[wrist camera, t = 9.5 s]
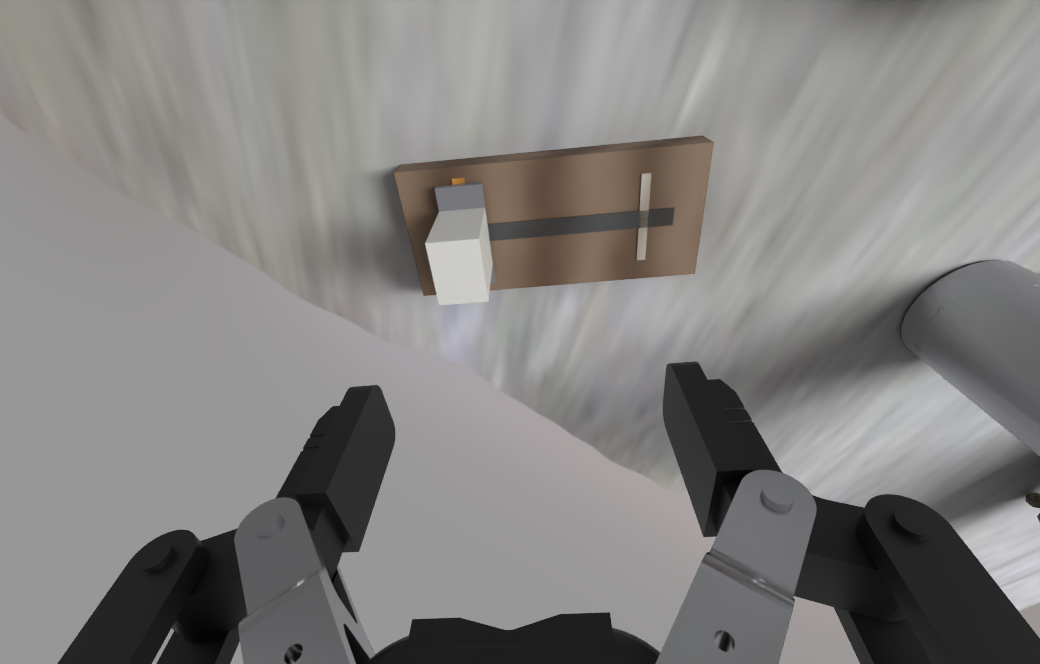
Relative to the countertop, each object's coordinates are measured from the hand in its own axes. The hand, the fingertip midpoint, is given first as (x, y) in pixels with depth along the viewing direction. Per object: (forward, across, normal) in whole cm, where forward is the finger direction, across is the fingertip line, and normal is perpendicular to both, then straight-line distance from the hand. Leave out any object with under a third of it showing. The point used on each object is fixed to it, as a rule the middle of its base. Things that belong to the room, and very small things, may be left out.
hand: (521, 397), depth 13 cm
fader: (+19, +4, +2) cm, 20 cm away
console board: (+22, -2, +3) cm, 22 cm away
